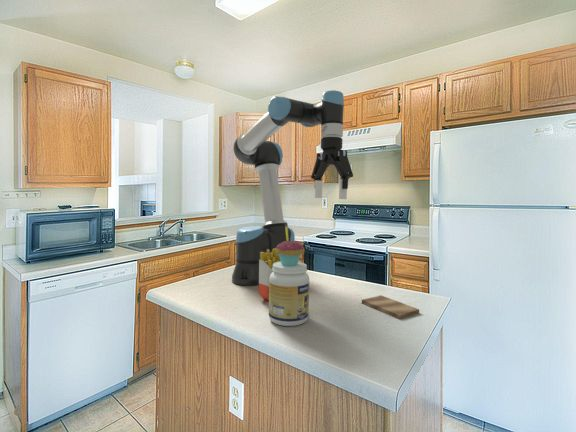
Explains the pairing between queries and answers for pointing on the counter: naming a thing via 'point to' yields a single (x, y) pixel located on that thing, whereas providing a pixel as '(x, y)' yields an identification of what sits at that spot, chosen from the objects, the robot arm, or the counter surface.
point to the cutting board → (390, 306)
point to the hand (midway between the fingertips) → (329, 198)
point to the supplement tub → (289, 294)
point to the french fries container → (266, 271)
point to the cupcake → (289, 251)
